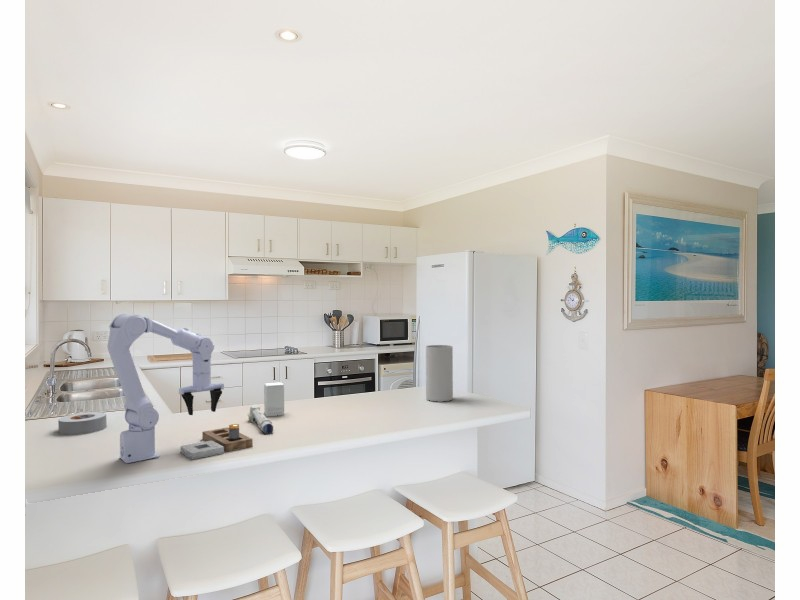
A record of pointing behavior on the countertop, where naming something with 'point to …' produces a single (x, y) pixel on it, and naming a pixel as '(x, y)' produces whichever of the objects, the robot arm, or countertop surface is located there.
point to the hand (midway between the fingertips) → (202, 412)
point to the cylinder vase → (439, 373)
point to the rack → (227, 439)
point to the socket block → (202, 449)
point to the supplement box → (274, 399)
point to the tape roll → (82, 423)
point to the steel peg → (233, 432)
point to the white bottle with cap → (260, 419)
